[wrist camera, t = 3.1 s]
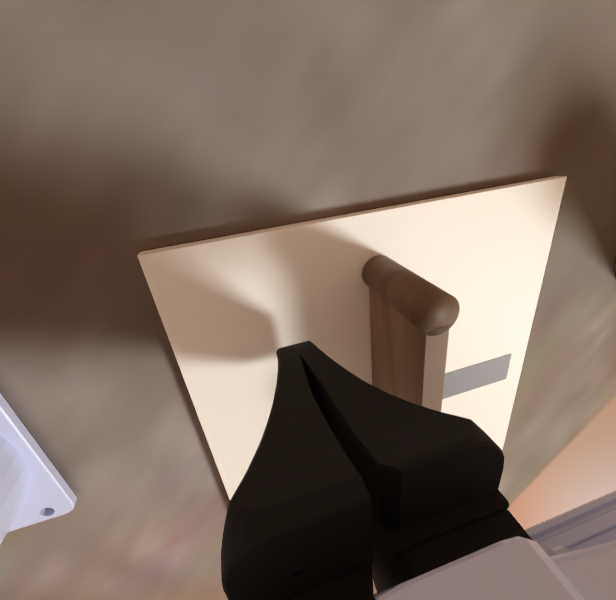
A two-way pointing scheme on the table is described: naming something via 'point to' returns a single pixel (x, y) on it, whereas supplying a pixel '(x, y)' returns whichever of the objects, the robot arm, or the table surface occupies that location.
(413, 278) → the fence gate
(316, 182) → the table surface
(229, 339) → the card
